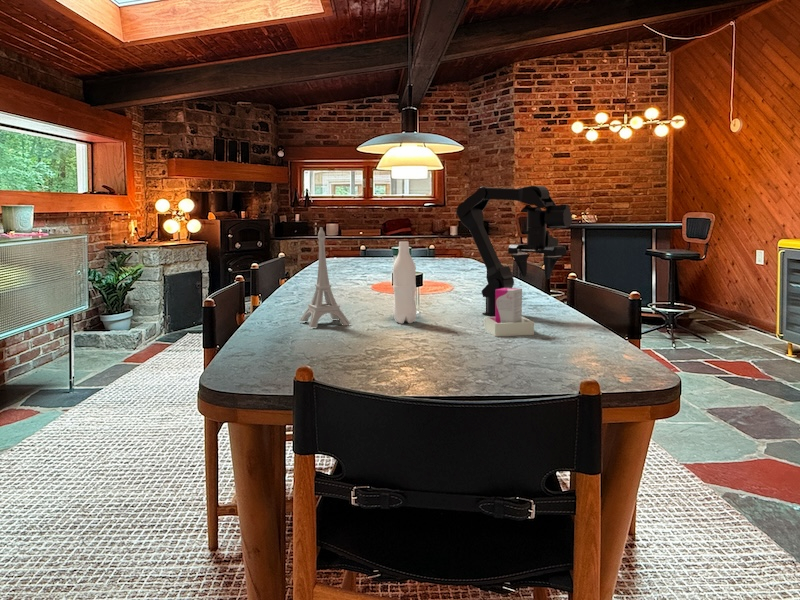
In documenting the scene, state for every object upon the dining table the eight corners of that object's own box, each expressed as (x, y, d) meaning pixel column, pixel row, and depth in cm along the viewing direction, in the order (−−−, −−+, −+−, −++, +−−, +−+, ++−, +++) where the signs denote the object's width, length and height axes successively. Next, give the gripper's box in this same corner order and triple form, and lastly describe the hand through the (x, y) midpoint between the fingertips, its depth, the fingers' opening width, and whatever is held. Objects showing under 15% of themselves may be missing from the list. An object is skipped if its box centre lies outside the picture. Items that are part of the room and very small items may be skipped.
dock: (484, 328, 185) (484, 317, 184) (520, 327, 186) (521, 315, 186) (495, 336, 174) (495, 323, 173) (533, 334, 175) (534, 322, 175)
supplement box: (522, 328, 181) (522, 288, 179) (513, 331, 176) (513, 290, 174) (503, 326, 184) (504, 286, 183) (494, 329, 179) (494, 289, 178)
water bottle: (414, 324, 194) (413, 242, 190) (391, 324, 195) (389, 242, 191) (418, 320, 201) (417, 240, 197) (396, 319, 202) (394, 241, 198)
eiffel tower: (297, 322, 201) (294, 227, 196) (338, 319, 206) (335, 226, 202) (309, 329, 189) (305, 228, 184) (351, 325, 194) (349, 227, 190)
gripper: (578, 226, 192) (577, 278, 195) (530, 226, 207) (529, 273, 209) (554, 228, 186) (553, 281, 188) (507, 227, 200) (506, 276, 203)
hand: (535, 277), depth 197 cm, fingers open, 9 cm apart
